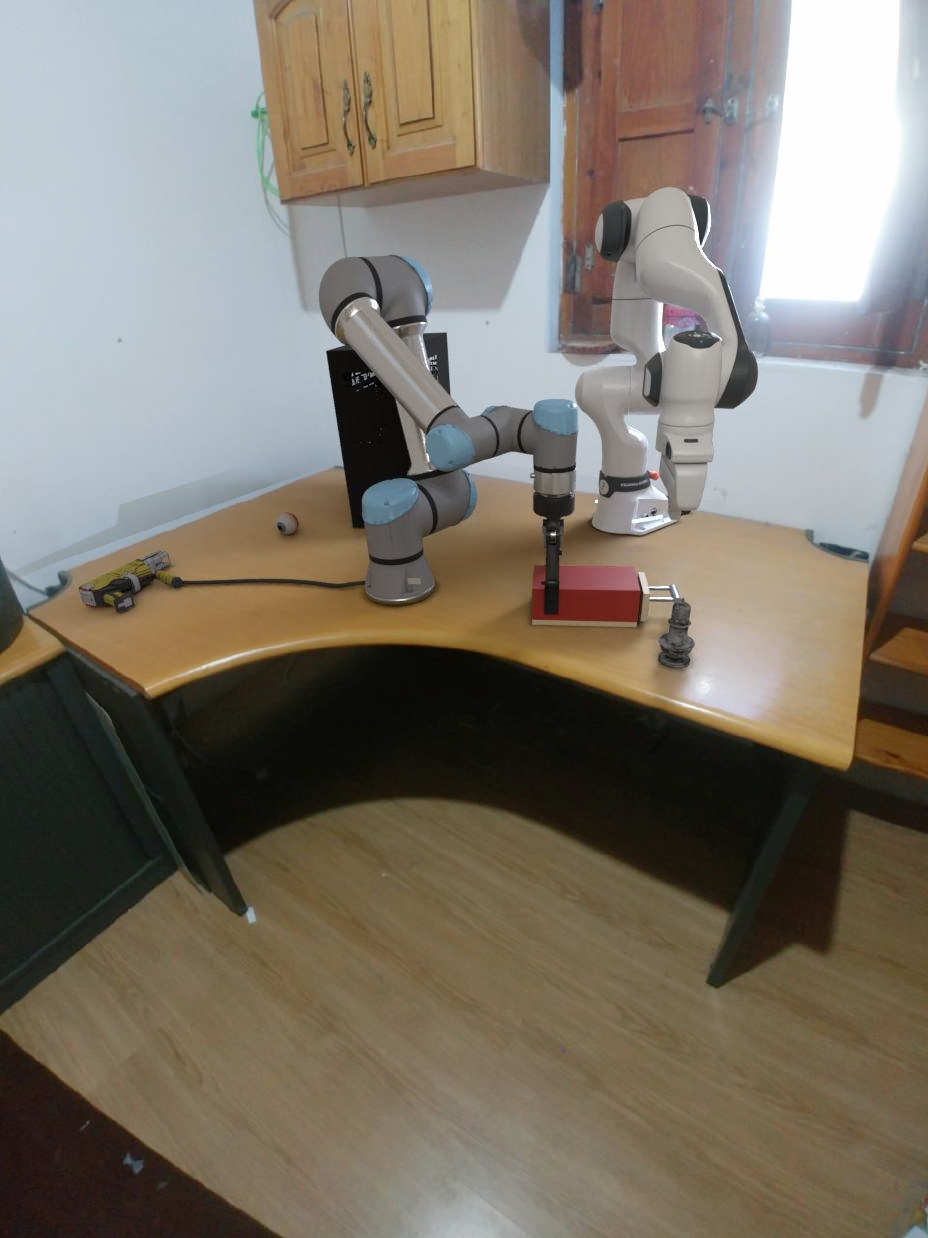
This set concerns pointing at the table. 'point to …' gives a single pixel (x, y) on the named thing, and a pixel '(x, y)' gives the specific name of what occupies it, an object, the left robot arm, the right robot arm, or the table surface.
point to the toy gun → (127, 582)
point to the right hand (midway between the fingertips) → (673, 517)
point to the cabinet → (589, 596)
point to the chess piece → (677, 637)
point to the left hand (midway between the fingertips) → (551, 599)
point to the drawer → (646, 598)
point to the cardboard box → (373, 420)
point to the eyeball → (287, 523)
